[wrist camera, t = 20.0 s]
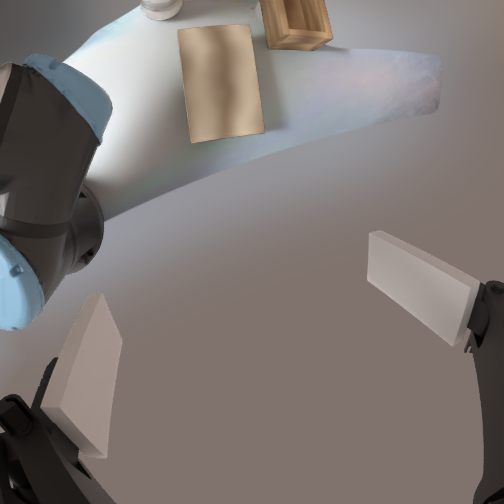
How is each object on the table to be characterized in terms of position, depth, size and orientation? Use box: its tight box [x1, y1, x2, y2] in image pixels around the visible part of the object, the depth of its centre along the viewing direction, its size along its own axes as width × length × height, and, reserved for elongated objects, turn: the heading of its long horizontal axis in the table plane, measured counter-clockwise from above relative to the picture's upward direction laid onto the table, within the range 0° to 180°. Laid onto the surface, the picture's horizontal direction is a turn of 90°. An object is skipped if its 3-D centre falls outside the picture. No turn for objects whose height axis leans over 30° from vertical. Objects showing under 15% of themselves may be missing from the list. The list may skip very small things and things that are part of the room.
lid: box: [178, 25, 265, 144], centre depth 33 cm, size 10×17×2 cm, turn 8°
